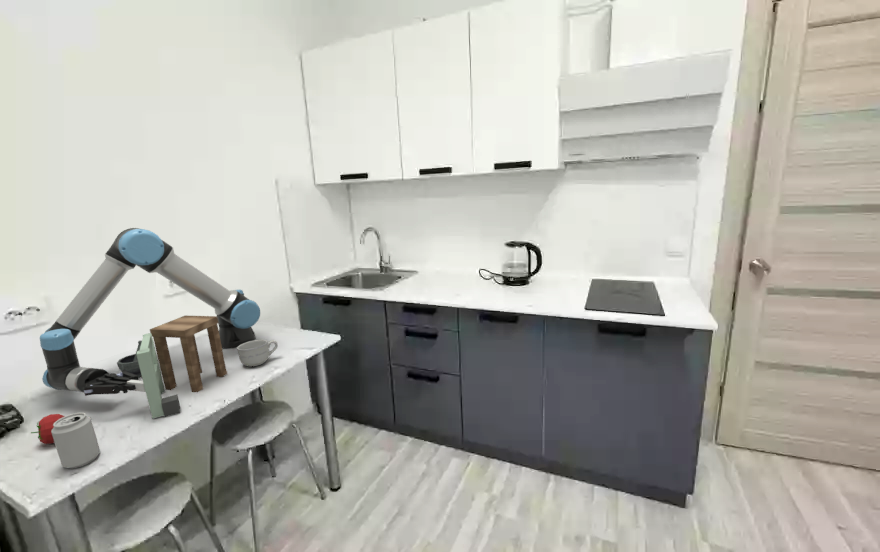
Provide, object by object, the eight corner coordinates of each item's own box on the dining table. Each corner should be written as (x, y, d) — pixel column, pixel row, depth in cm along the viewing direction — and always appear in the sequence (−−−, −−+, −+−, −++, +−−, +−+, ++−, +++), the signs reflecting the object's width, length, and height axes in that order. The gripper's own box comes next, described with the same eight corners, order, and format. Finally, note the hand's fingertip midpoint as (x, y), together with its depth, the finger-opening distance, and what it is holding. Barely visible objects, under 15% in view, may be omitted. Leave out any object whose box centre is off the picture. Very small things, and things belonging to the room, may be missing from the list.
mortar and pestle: (136, 381, 147) (128, 350, 145) (115, 381, 149) (106, 350, 146) (162, 367, 158) (155, 338, 155) (141, 367, 160) (134, 338, 157)
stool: (196, 371, 153) (184, 315, 148) (228, 373, 149) (217, 316, 144) (163, 390, 140) (149, 329, 135) (197, 393, 136) (184, 330, 131)
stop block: (165, 411, 126) (162, 398, 125) (180, 407, 128) (177, 394, 127) (164, 417, 122) (161, 403, 121) (180, 412, 124) (177, 399, 123)
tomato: (68, 405, 116) (30, 413, 110) (72, 429, 112) (33, 438, 106) (65, 420, 119) (28, 429, 113) (69, 444, 116) (31, 454, 110)
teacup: (237, 371, 151) (234, 351, 149) (243, 360, 161) (239, 340, 159) (278, 365, 154) (274, 345, 152) (280, 354, 164) (277, 335, 162)
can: (103, 458, 105) (91, 416, 102) (65, 475, 99) (51, 431, 97) (97, 447, 110) (86, 407, 107) (60, 462, 104) (47, 420, 102)
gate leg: (155, 392, 138) (141, 334, 133) (166, 389, 139) (152, 332, 135) (152, 418, 121) (136, 354, 117) (164, 415, 123) (149, 351, 118)
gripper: (112, 381, 136) (167, 387, 130) (68, 401, 124) (127, 409, 118) (107, 360, 135) (163, 365, 128) (62, 378, 123) (122, 385, 116)
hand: (146, 386), depth 123 cm, fingers closed
